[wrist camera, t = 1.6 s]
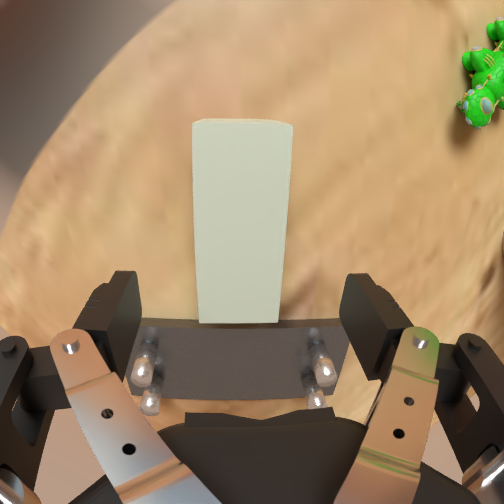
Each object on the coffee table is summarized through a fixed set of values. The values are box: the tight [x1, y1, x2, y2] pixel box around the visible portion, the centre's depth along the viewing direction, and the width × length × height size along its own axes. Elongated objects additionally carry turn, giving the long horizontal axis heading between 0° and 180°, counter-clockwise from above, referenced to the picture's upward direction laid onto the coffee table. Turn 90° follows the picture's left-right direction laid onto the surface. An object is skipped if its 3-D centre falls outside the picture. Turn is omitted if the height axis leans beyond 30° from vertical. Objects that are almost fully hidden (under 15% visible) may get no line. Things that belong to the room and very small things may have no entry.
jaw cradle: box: [125, 318, 350, 416], centre depth 28 cm, size 22×10×5 cm, turn 87°
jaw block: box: [192, 119, 293, 323], centre depth 21 cm, size 5×12×7 cm, turn 178°
